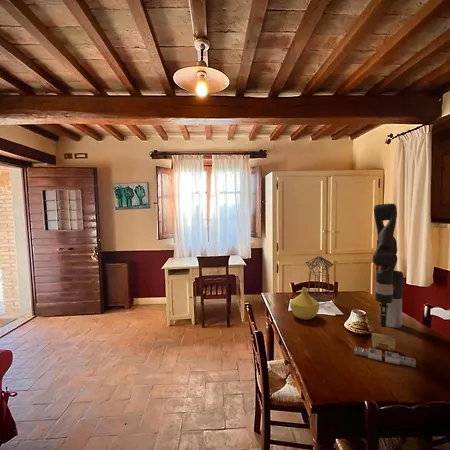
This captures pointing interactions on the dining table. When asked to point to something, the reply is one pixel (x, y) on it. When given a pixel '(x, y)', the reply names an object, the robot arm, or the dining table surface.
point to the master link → (384, 340)
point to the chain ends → (389, 356)
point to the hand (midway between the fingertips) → (383, 323)
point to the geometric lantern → (319, 276)
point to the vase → (304, 305)
